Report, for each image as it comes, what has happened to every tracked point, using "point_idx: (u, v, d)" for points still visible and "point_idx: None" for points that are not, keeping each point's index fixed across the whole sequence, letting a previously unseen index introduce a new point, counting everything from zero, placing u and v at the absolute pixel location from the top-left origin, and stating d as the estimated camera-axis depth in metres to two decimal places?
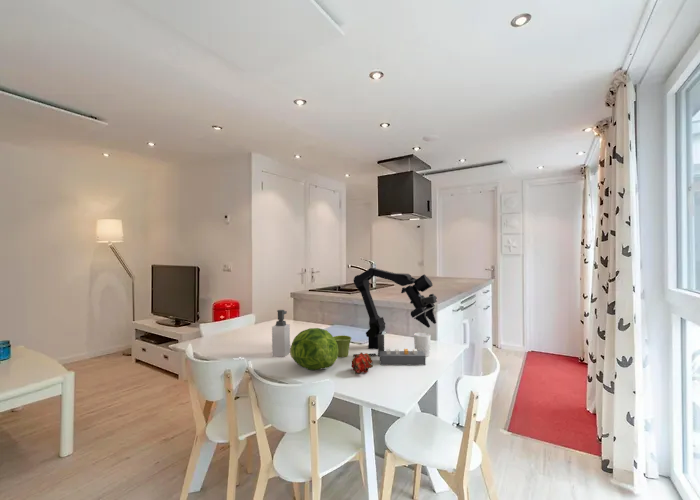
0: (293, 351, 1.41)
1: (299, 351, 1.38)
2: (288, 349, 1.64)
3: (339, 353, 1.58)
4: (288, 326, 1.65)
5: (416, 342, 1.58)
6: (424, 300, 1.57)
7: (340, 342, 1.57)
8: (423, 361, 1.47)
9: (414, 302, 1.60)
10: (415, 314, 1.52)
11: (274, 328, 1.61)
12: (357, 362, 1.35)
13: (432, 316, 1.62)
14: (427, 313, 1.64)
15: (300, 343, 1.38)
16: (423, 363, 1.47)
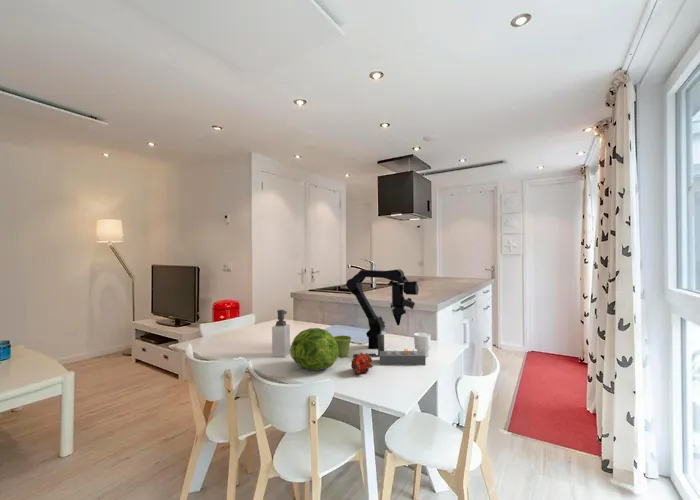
0: (293, 351, 1.41)
1: (299, 351, 1.38)
2: (288, 349, 1.64)
3: (339, 353, 1.58)
4: (288, 326, 1.65)
5: (416, 342, 1.58)
6: (406, 302, 1.66)
7: (340, 342, 1.57)
8: (423, 361, 1.47)
9: (396, 299, 1.66)
10: (398, 312, 1.59)
11: (274, 328, 1.61)
12: (357, 362, 1.35)
13: None
14: None
15: (300, 343, 1.38)
16: (423, 363, 1.47)
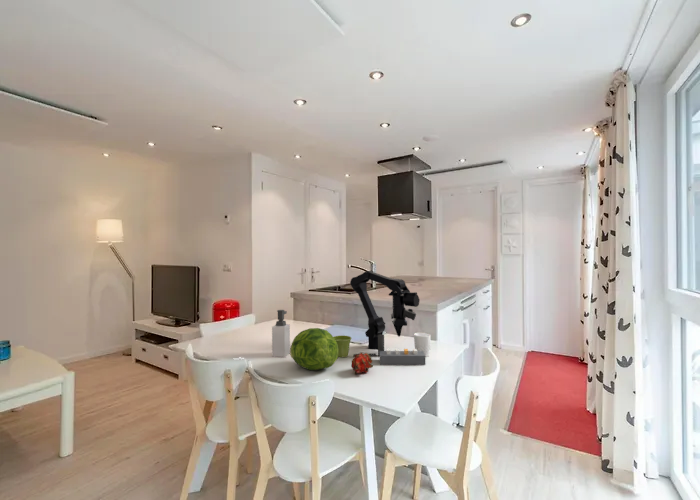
0: (293, 351, 1.41)
1: (299, 351, 1.38)
2: (288, 349, 1.64)
3: (339, 353, 1.58)
4: (288, 326, 1.65)
5: (416, 342, 1.58)
6: (407, 313, 1.62)
7: (340, 342, 1.57)
8: (423, 361, 1.47)
9: (397, 310, 1.62)
10: (399, 324, 1.56)
11: (274, 328, 1.61)
12: (357, 362, 1.35)
13: None
14: None
15: (300, 343, 1.38)
16: (423, 363, 1.47)
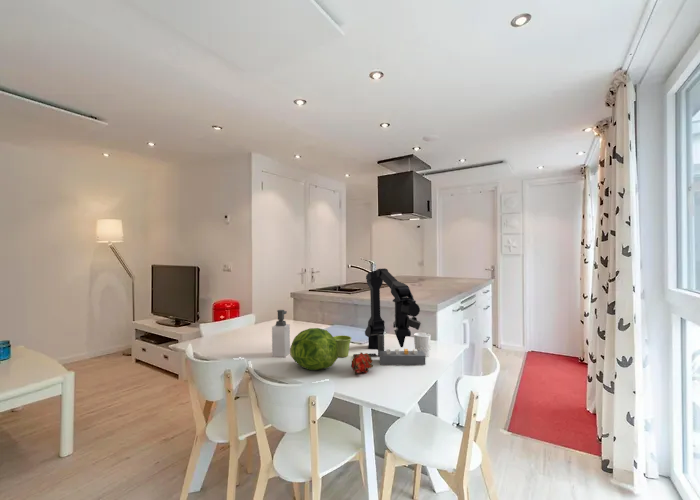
0: (293, 351, 1.41)
1: (299, 351, 1.38)
2: (288, 349, 1.64)
3: (339, 353, 1.58)
4: (288, 326, 1.65)
5: (416, 342, 1.58)
6: (411, 322, 1.48)
7: (340, 342, 1.57)
8: (423, 361, 1.47)
9: (400, 319, 1.48)
10: (402, 334, 1.41)
11: (274, 328, 1.61)
12: (357, 362, 1.35)
13: None
14: None
15: (300, 343, 1.38)
16: (423, 363, 1.47)
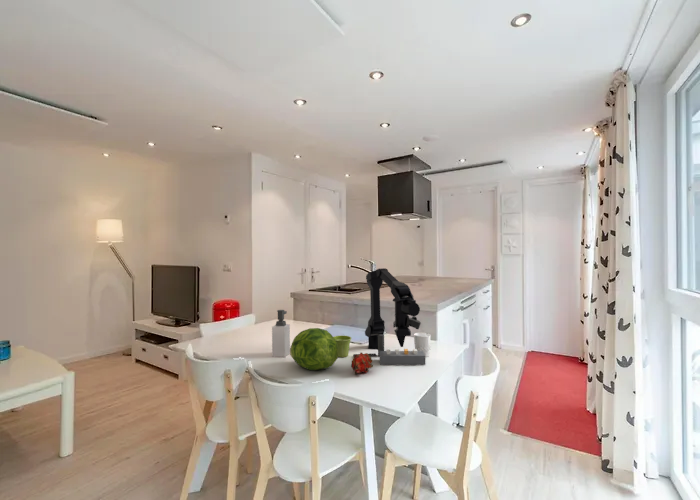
0: (293, 351, 1.41)
1: (299, 351, 1.38)
2: (288, 349, 1.64)
3: (339, 353, 1.58)
4: (288, 326, 1.65)
5: (416, 342, 1.58)
6: (411, 322, 1.48)
7: (340, 342, 1.57)
8: (423, 361, 1.47)
9: (400, 318, 1.48)
10: (402, 334, 1.41)
11: (274, 328, 1.61)
12: (357, 362, 1.35)
13: None
14: None
15: (300, 343, 1.38)
16: (423, 363, 1.47)
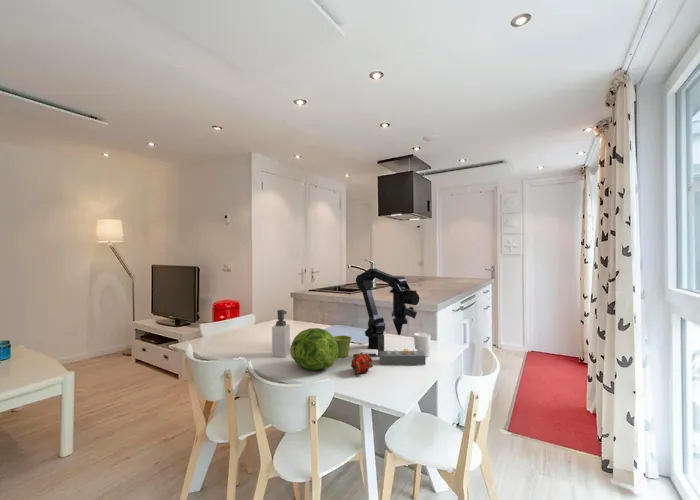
0: (293, 351, 1.41)
1: (299, 351, 1.38)
2: (288, 349, 1.64)
3: (339, 353, 1.58)
4: (288, 326, 1.65)
5: (416, 342, 1.58)
6: (407, 311, 1.58)
7: (340, 342, 1.57)
8: (423, 361, 1.47)
9: (397, 308, 1.58)
10: (399, 322, 1.52)
11: (274, 328, 1.61)
12: (357, 362, 1.35)
13: None
14: None
15: (300, 343, 1.38)
16: (423, 363, 1.47)
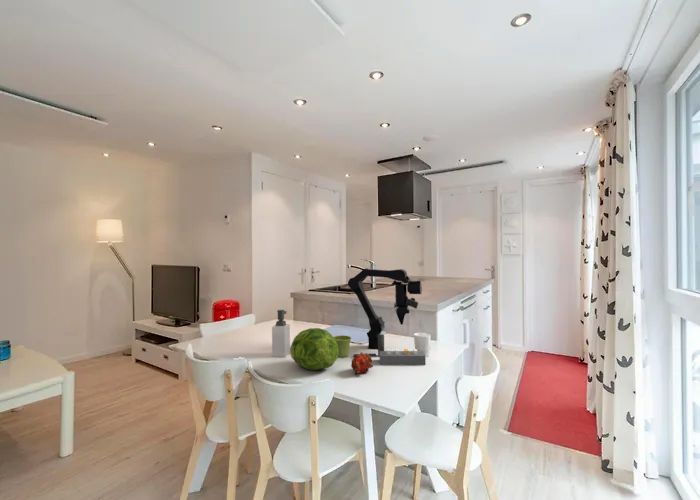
0: (293, 351, 1.41)
1: (299, 351, 1.38)
2: (288, 349, 1.64)
3: (339, 353, 1.58)
4: (288, 326, 1.65)
5: (416, 342, 1.58)
6: (409, 302, 1.67)
7: (340, 342, 1.57)
8: (423, 361, 1.47)
9: (400, 299, 1.67)
10: (401, 312, 1.60)
11: (274, 328, 1.61)
12: (357, 362, 1.35)
13: None
14: None
15: (300, 343, 1.38)
16: (423, 363, 1.47)
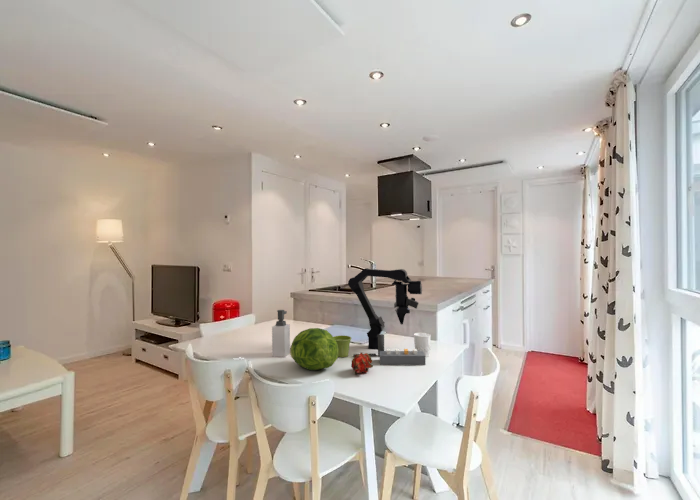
0: (293, 351, 1.41)
1: (299, 351, 1.38)
2: (288, 349, 1.64)
3: (339, 353, 1.58)
4: (288, 326, 1.65)
5: (416, 342, 1.58)
6: (410, 302, 1.67)
7: (340, 342, 1.57)
8: (423, 361, 1.47)
9: (400, 299, 1.67)
10: (402, 312, 1.60)
11: (274, 328, 1.61)
12: (357, 362, 1.35)
13: None
14: None
15: (300, 343, 1.38)
16: (423, 363, 1.47)
